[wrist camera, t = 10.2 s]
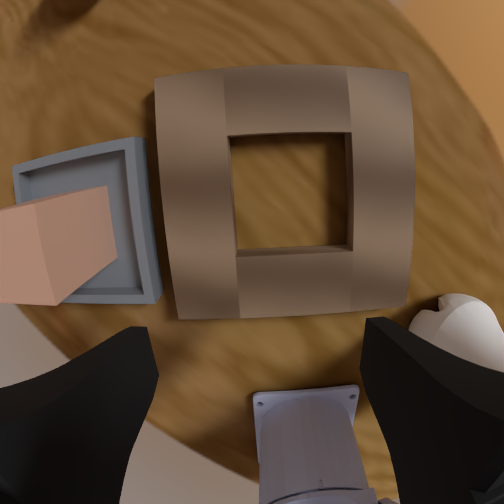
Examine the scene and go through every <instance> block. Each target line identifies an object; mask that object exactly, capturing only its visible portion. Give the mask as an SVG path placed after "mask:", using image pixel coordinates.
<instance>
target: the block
mask: <svg viewBox="0 0 504 504" xmlns="http://www.w3.org/2000/svg"><path fill="white" fill-rule="evenodd" d="M116 258H118V257H117V251H116V245H115V239H114V233H113V227H112V220H111V213H110V205H109V197H108V189H107V186H100V187H94V188H88V189H82V190H77V191H71V192H66V193H60V194H55V195H50V196H47V197H43V198H39V199H35V200H31V201H27V202H24V203H20V204H17V205H13V206H10V207H6V208H3V209H0V303H14V304H32V305H55V306H56V305H58V304H59V303H60V302H61V301H63V300H64V299H65V298H66V297H67V296H69V295H70V294H71V293H72V292H74V291H75V290H76V289H77V288H79V287H80V286H81V285H82V284H84V283H85V282H86V281H88V280H89V279H90V278H91V277H93V276H94V275H95V274H97V273H98V272H99V271H100V270H102V269H103V268H104V267H106V266H107V265H108V264H110V263H111V262H112V261H114V260H115V259H116Z"/></svg>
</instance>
